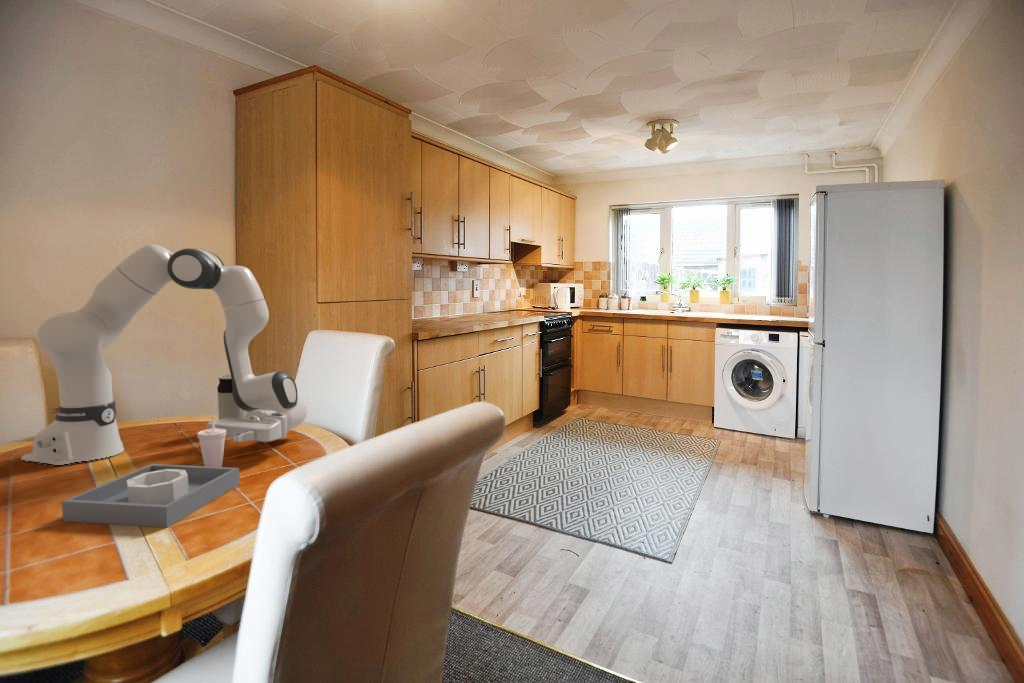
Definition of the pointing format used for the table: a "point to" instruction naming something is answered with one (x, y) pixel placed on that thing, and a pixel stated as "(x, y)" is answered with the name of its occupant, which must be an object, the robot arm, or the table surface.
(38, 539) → the table surface
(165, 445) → the table surface
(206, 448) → the smoothie
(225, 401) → the travel mug
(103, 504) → the tray
